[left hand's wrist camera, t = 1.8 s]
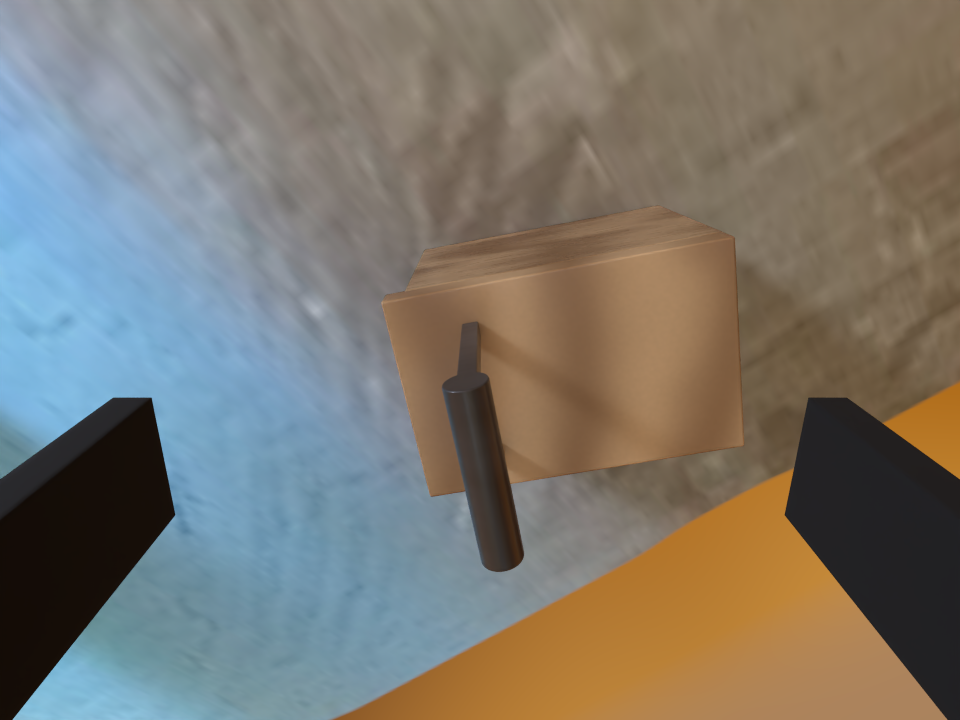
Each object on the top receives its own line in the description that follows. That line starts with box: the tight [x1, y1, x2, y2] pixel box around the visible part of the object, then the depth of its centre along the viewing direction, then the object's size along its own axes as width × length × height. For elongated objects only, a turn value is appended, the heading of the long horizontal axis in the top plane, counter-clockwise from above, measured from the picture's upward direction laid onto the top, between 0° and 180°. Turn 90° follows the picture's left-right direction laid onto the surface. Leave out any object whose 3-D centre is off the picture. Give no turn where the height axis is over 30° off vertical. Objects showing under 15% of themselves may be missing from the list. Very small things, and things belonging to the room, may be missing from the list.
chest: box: [405, 206, 722, 291], centre depth 32 cm, size 14×10×10 cm
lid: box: [381, 232, 744, 572], centre depth 24 cm, size 14×10×9 cm, turn 101°
